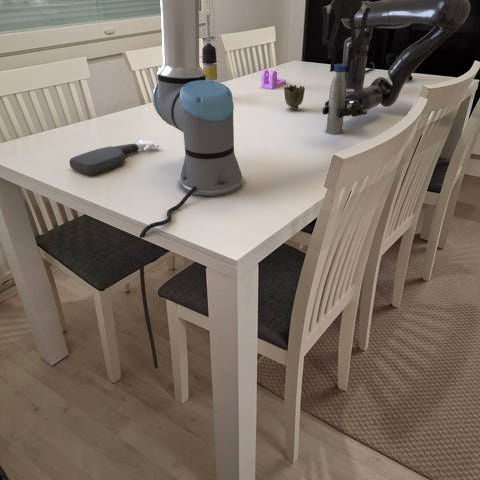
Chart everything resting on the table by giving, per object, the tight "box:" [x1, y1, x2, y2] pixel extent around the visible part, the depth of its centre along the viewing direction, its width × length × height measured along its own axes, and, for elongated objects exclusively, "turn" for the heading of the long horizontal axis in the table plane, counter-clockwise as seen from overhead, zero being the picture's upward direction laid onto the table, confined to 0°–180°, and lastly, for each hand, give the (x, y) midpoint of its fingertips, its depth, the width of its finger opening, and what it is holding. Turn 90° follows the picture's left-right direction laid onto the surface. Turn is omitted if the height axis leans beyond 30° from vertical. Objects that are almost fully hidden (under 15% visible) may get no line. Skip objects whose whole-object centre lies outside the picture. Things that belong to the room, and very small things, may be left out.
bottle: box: [326, 72, 346, 135], centre depth 137 cm, size 5×5×19 cm
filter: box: [201, 14, 218, 82], centre depth 171 cm, size 6×6×30 cm
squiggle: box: [385, 52, 414, 81], centre depth 198 cm, size 11×10×15 cm
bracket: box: [260, 69, 287, 90], centre depth 194 cm, size 13×6×7 cm, turn 143°
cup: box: [283, 84, 306, 112], centre depth 161 cm, size 8×7×8 cm
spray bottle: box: [68, 139, 160, 177], centre depth 124 cm, size 3×11×24 cm
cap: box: [333, 63, 347, 73], centre depth 132 cm, size 4×4×2 cm
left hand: (339, 70), depth 132 cm, fingers closed on cap, 4 cm apart
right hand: (331, 112), depth 137 cm, fingers closed on bottle, 5 cm apart
